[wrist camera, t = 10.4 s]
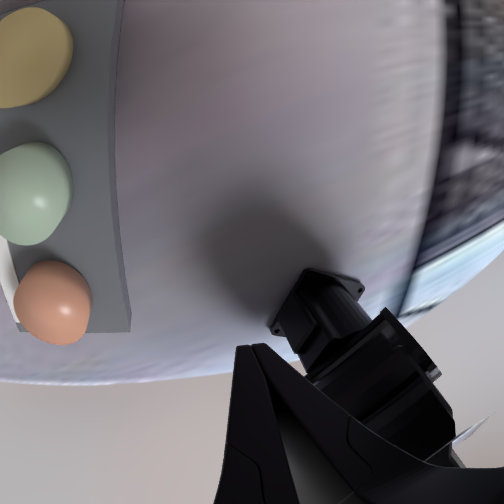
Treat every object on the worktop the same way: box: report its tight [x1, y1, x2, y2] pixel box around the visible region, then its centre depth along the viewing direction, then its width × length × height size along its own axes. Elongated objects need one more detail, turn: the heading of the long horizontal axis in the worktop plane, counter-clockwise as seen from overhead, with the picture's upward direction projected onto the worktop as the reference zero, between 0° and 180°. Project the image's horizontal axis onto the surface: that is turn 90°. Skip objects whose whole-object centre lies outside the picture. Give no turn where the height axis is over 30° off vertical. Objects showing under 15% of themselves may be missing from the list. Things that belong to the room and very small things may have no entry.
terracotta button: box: [13, 260, 92, 345], centre depth 16 cm, size 5×5×2 cm
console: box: [0, 0, 132, 333], centre depth 14 cm, size 9×21×2 cm, turn 175°
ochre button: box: [0, 7, 73, 108], centre depth 9 cm, size 5×5×2 cm
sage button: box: [0, 142, 74, 245], centre depth 12 cm, size 5×5×2 cm
